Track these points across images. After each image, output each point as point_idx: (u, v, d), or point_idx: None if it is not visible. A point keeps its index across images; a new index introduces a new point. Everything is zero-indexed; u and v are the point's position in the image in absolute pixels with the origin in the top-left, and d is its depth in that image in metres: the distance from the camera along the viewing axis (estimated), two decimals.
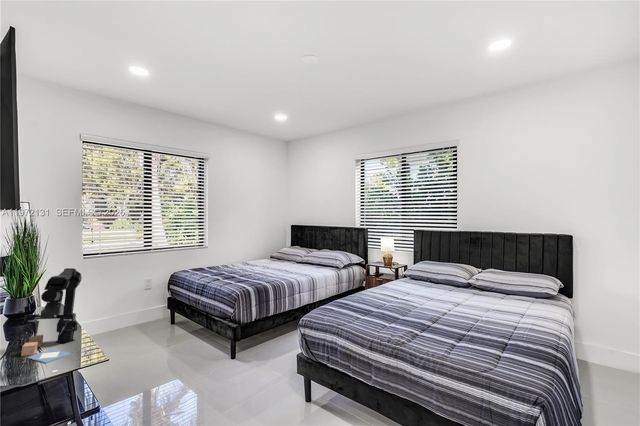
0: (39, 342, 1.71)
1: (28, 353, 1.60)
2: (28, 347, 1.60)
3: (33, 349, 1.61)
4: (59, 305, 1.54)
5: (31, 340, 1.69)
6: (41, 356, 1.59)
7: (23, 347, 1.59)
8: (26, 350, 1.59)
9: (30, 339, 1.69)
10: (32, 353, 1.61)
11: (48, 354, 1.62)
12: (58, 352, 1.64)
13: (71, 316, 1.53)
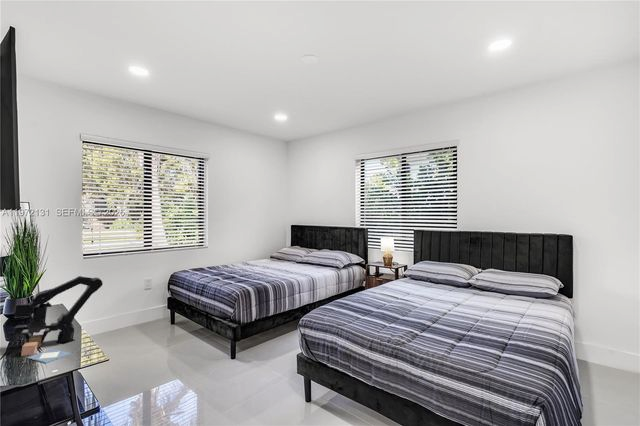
0: (39, 342, 1.71)
1: (28, 353, 1.60)
2: (28, 347, 1.60)
3: (33, 349, 1.61)
4: (44, 318, 1.73)
5: (31, 340, 1.69)
6: (41, 356, 1.59)
7: (23, 347, 1.59)
8: (26, 350, 1.59)
9: (30, 339, 1.69)
10: (32, 353, 1.61)
11: (48, 354, 1.62)
12: (58, 352, 1.64)
13: (56, 328, 1.74)
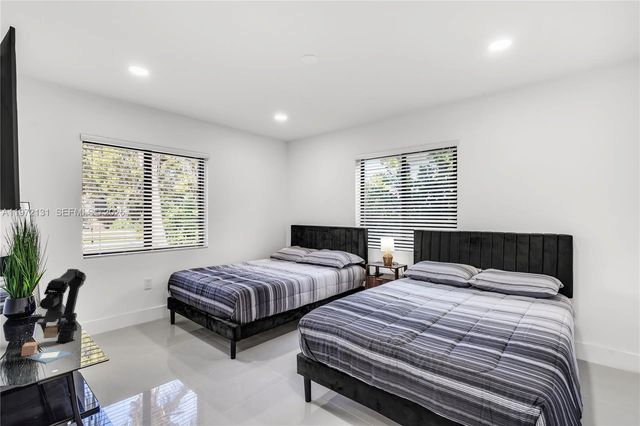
0: (55, 332, 1.60)
1: (28, 353, 1.60)
2: (28, 347, 1.60)
3: (33, 349, 1.61)
4: (60, 307, 1.63)
5: (47, 330, 1.59)
6: (41, 356, 1.59)
7: (23, 347, 1.59)
8: (26, 350, 1.59)
9: (46, 329, 1.59)
10: (32, 353, 1.61)
11: (48, 354, 1.62)
12: (58, 352, 1.64)
13: (73, 318, 1.64)
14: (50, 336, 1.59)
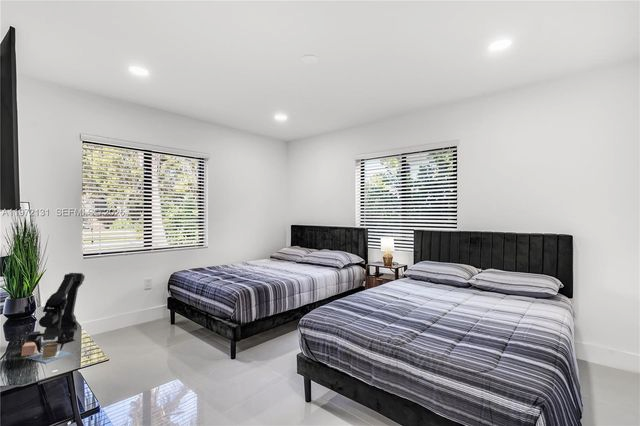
0: (54, 351, 1.60)
1: (28, 353, 1.60)
2: (28, 347, 1.60)
3: (33, 349, 1.61)
4: (59, 324, 1.62)
5: (45, 349, 1.58)
6: (41, 356, 1.59)
7: (23, 347, 1.59)
8: (26, 350, 1.59)
9: (44, 348, 1.58)
10: (32, 353, 1.61)
11: None
12: (58, 352, 1.64)
13: (72, 334, 1.63)
14: (49, 355, 1.59)
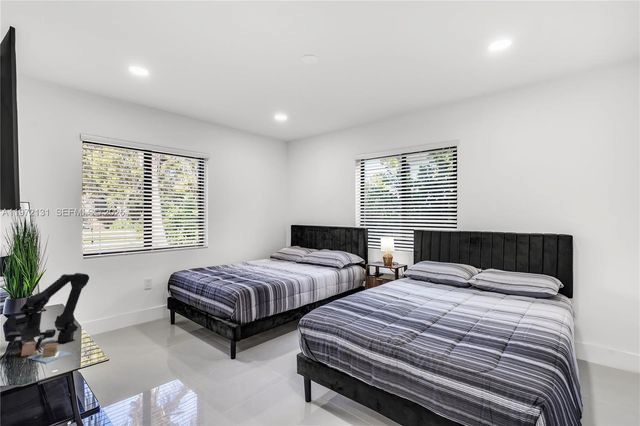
0: (54, 351, 1.60)
1: (28, 353, 1.60)
2: (28, 347, 1.60)
3: (33, 349, 1.61)
4: (38, 324, 1.63)
5: (45, 349, 1.58)
6: (41, 356, 1.59)
7: (23, 347, 1.59)
8: (26, 350, 1.59)
9: (44, 348, 1.58)
10: (32, 353, 1.61)
11: None
12: (58, 352, 1.64)
13: (51, 335, 1.64)
14: (49, 355, 1.59)
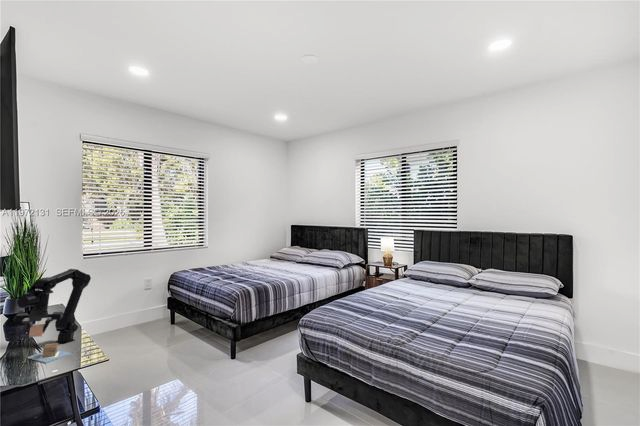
0: (54, 351, 1.60)
1: (36, 334, 1.60)
2: (36, 328, 1.60)
3: (41, 330, 1.61)
4: (46, 306, 1.63)
5: (45, 349, 1.58)
6: (41, 356, 1.59)
7: (31, 328, 1.59)
8: (34, 331, 1.60)
9: (44, 348, 1.58)
10: (40, 334, 1.61)
11: None
12: (58, 352, 1.64)
13: (58, 317, 1.64)
14: (49, 355, 1.59)
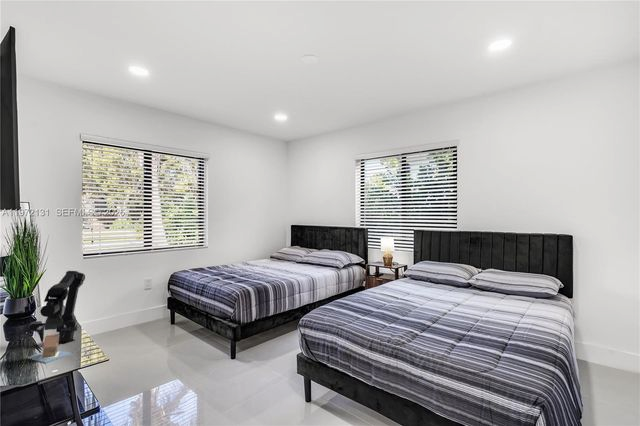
0: (54, 351, 1.60)
1: (50, 344, 1.59)
2: (50, 338, 1.59)
3: (55, 341, 1.60)
4: (61, 314, 1.62)
5: (45, 349, 1.58)
6: (41, 356, 1.59)
7: (45, 338, 1.58)
8: (48, 342, 1.59)
9: (44, 348, 1.58)
10: (54, 345, 1.60)
11: None
12: (58, 352, 1.64)
13: (73, 324, 1.63)
14: (49, 355, 1.59)
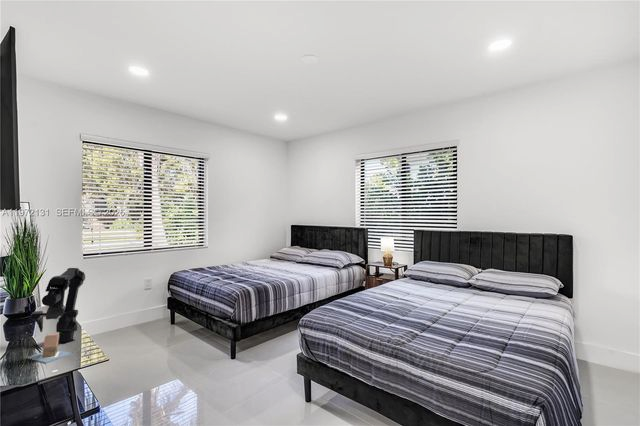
0: (54, 351, 1.60)
1: (50, 344, 1.59)
2: (50, 338, 1.59)
3: (55, 341, 1.60)
4: (62, 304, 1.62)
5: (45, 349, 1.58)
6: (41, 356, 1.59)
7: (45, 338, 1.58)
8: (48, 342, 1.59)
9: (44, 348, 1.58)
10: (54, 345, 1.60)
11: None
12: (58, 352, 1.64)
13: (74, 315, 1.64)
14: (49, 355, 1.59)
